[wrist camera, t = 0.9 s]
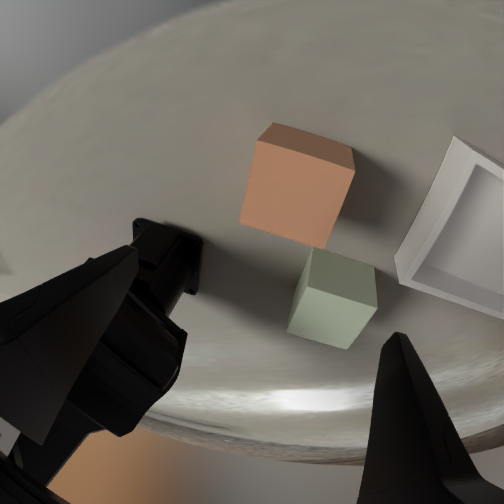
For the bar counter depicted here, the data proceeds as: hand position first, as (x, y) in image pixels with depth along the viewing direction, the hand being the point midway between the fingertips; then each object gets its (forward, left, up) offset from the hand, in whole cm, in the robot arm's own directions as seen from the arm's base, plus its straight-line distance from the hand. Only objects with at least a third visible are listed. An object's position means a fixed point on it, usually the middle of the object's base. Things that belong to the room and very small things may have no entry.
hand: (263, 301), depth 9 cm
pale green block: (-8, -5, -12) cm, 15 cm away
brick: (0, 0, -12) cm, 12 cm away
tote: (+1, -16, -12) cm, 20 cm away
